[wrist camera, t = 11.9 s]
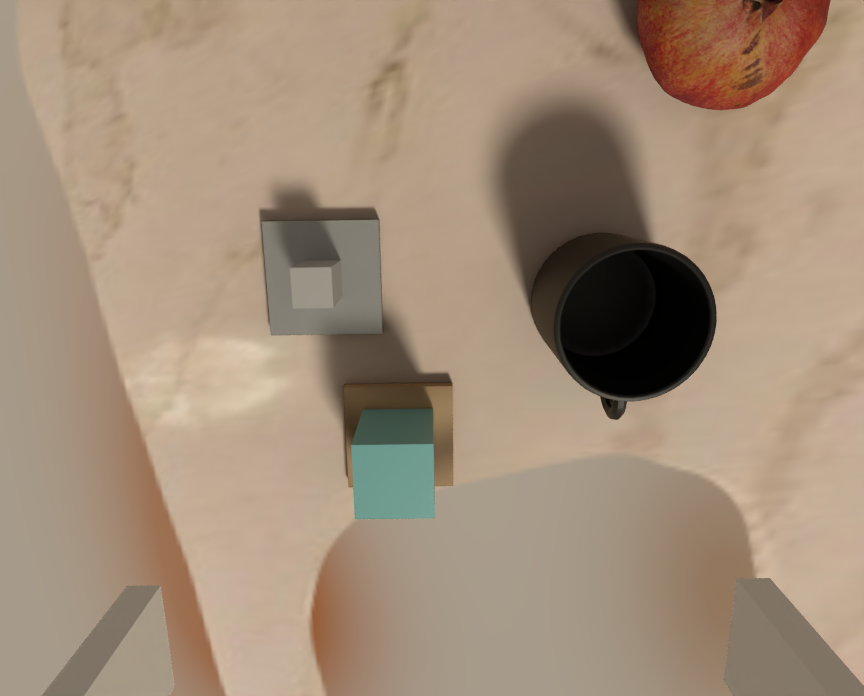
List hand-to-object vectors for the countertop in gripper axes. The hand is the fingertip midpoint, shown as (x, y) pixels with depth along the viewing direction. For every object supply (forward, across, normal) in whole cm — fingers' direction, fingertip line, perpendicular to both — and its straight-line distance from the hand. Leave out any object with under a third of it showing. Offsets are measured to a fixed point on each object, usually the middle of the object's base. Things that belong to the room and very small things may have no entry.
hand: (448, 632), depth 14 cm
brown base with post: (+32, -3, -8) cm, 33 cm away
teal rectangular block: (+31, -3, -8) cm, 32 cm away
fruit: (+32, +17, +20) cm, 41 cm away
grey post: (+32, -8, +4) cm, 33 cm away
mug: (+32, +11, +1) cm, 34 cm away
